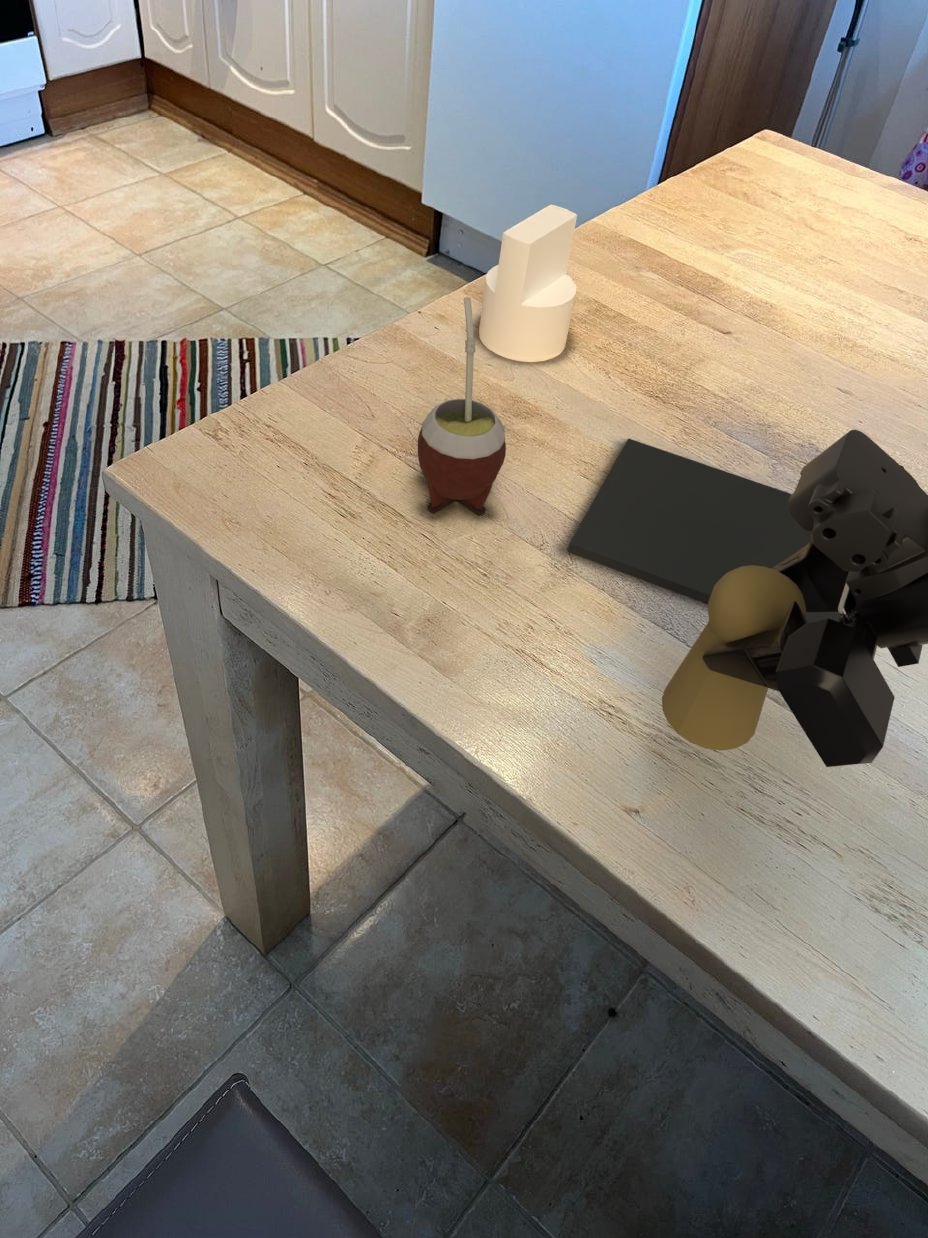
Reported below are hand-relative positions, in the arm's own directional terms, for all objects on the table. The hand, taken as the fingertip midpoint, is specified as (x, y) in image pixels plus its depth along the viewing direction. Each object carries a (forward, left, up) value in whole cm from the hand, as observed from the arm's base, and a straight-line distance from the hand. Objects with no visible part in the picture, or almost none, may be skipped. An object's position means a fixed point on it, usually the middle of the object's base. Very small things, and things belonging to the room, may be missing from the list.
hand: (718, 631), depth 55 cm
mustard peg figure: (-1, 0, -7) cm, 7 cm away
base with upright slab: (+27, -43, -12) cm, 53 cm away
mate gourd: (+23, -17, -12) cm, 32 cm away
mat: (+1, -23, -12) cm, 26 cm away
